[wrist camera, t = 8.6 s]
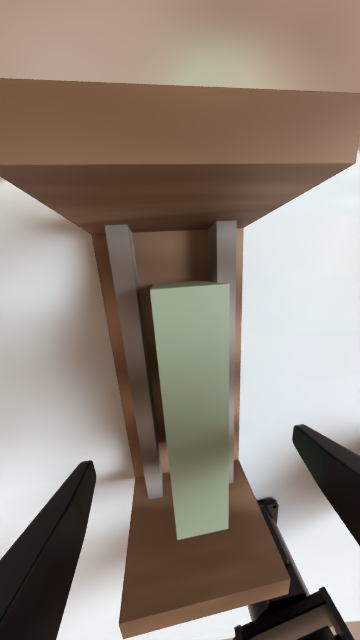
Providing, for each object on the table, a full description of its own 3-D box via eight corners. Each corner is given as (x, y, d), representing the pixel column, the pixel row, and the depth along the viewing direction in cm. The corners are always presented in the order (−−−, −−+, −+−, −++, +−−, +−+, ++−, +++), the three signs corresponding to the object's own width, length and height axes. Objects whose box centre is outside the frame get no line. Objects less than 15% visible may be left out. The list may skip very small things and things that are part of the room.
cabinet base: (233, 461, 18) (288, 593, 11) (138, 478, 17) (123, 639, 10) (237, 207, 12) (366, 93, 5) (92, 211, 11) (-44, 76, 4)
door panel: (203, 436, 16) (229, 528, 10) (169, 442, 16) (176, 540, 10) (196, 280, 12) (230, 283, 7) (153, 283, 12) (148, 289, 6)
